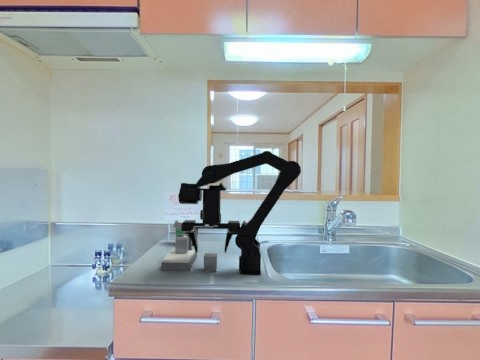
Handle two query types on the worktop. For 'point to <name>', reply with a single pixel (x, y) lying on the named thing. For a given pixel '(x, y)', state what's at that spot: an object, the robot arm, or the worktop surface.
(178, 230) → the food container
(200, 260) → the worktop surface
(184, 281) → the worktop surface
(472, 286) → the worktop surface
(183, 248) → the block
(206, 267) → the block
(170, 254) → the scale
